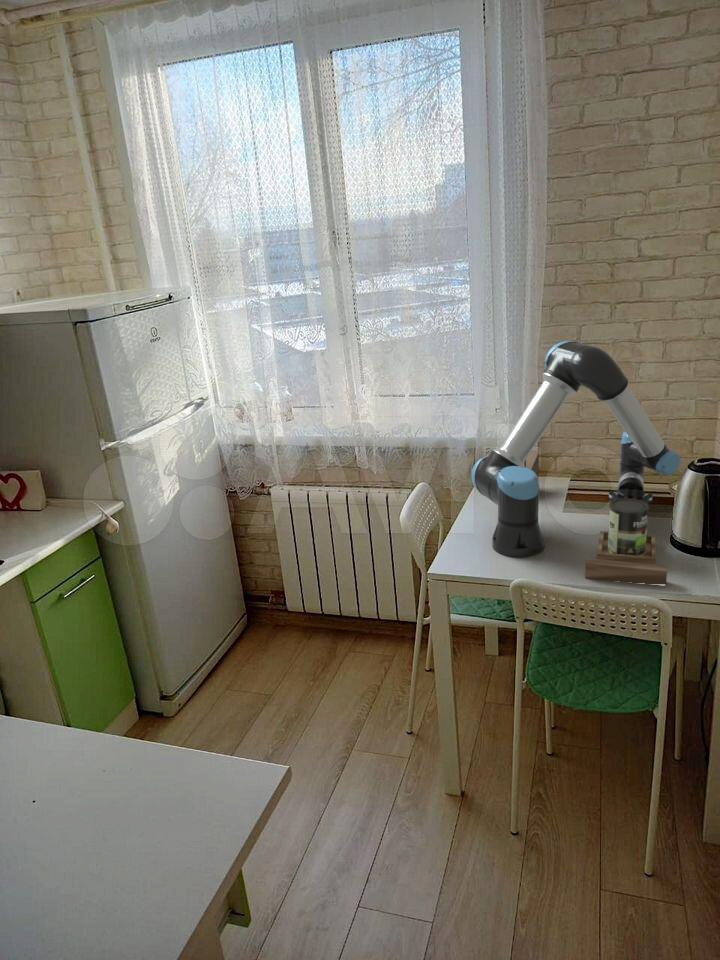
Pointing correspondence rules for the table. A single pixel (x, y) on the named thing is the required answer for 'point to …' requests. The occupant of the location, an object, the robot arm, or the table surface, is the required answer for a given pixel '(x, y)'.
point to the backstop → (625, 571)
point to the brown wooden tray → (645, 559)
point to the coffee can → (628, 527)
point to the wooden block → (532, 462)
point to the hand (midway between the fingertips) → (629, 517)
